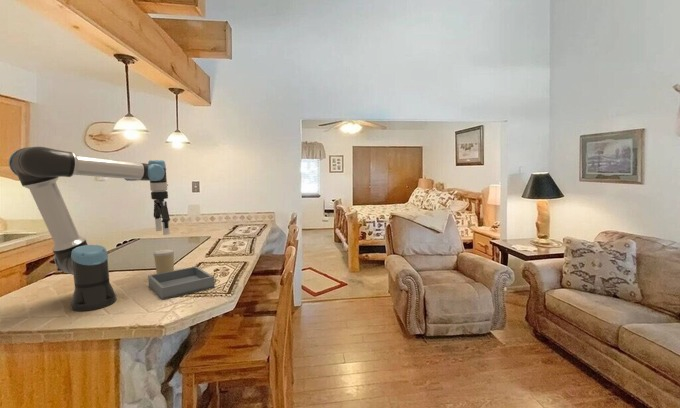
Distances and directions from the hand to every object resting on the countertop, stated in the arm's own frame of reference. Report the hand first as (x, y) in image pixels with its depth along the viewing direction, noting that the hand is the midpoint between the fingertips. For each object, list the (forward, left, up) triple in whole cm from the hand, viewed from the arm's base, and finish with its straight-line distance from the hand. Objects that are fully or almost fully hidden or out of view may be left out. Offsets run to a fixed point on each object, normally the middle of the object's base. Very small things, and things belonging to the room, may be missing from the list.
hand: (162, 232), depth 183 cm
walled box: (0, -26, -22) cm, 34 cm away
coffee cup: (0, 0, -22) cm, 22 cm away
